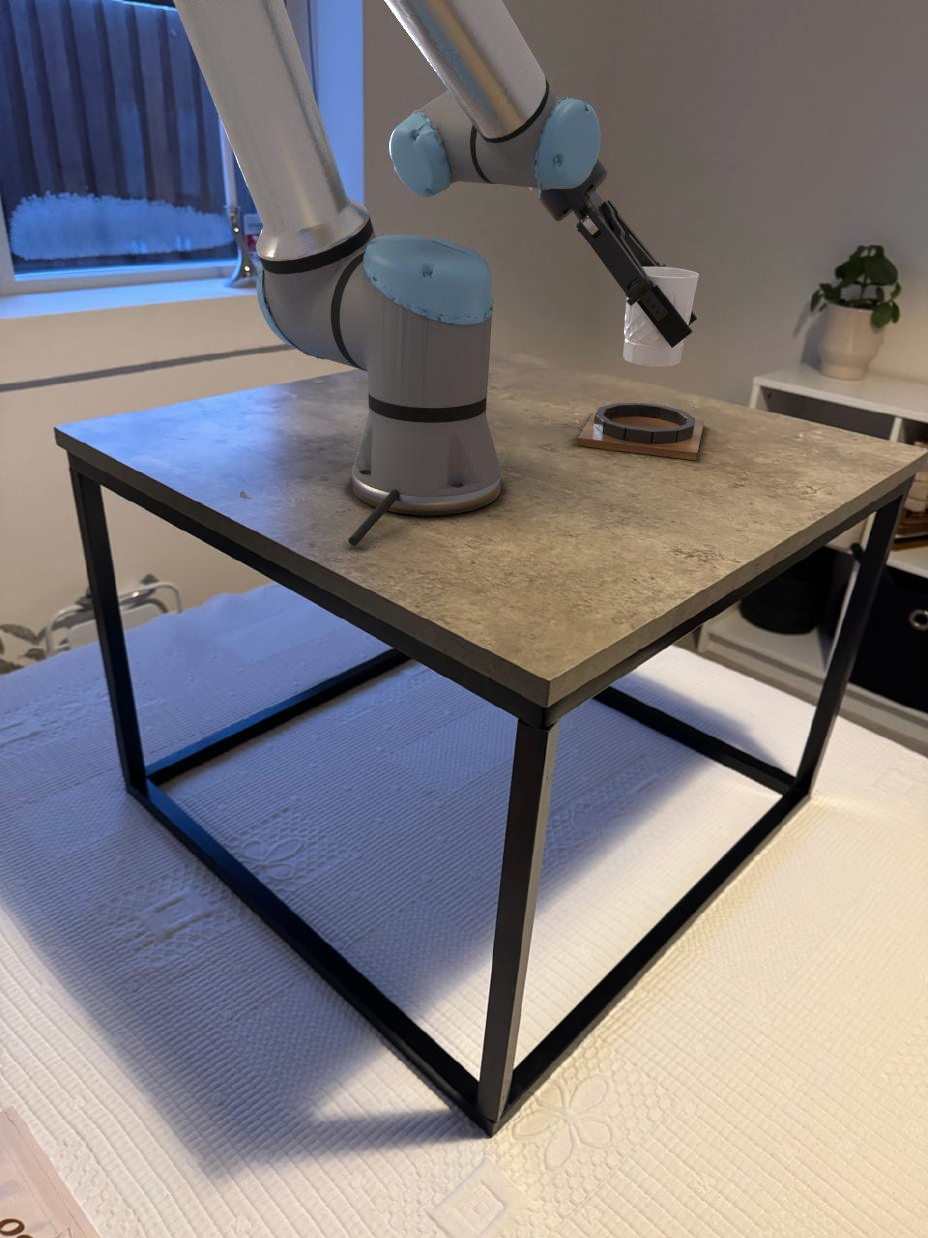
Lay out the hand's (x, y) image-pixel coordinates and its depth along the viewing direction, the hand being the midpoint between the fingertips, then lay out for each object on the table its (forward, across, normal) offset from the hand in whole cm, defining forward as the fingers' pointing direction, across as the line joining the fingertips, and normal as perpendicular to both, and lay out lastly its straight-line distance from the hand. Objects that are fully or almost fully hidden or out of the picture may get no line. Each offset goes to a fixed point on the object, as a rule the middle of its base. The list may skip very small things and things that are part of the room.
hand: (684, 332), depth 100 cm
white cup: (0, 0, +5) cm, 5 cm away
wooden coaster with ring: (+7, 0, +11) cm, 13 cm away
